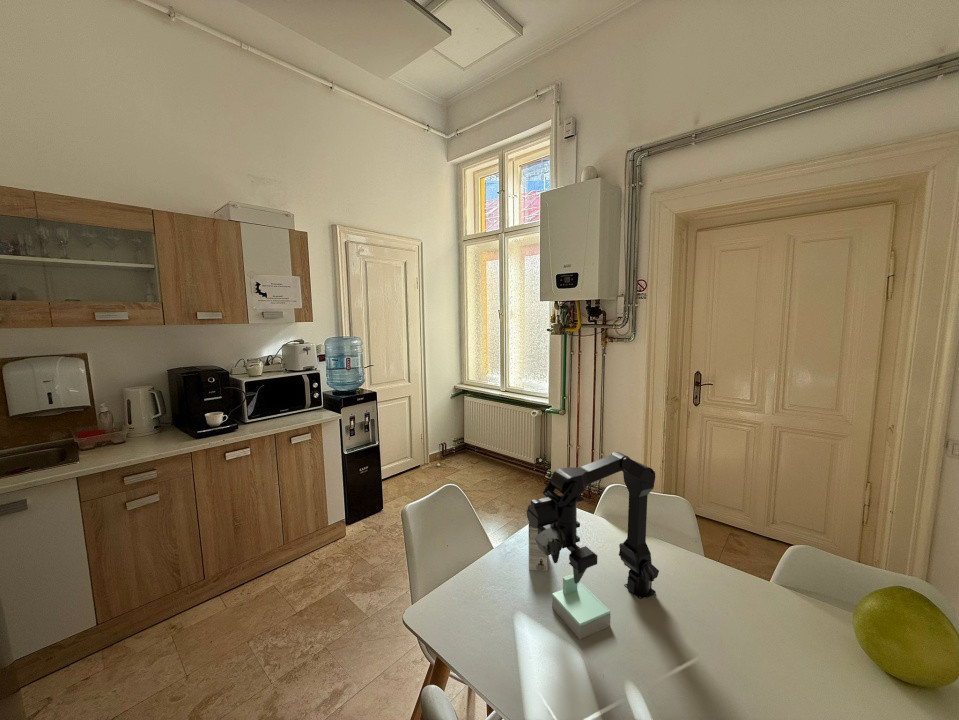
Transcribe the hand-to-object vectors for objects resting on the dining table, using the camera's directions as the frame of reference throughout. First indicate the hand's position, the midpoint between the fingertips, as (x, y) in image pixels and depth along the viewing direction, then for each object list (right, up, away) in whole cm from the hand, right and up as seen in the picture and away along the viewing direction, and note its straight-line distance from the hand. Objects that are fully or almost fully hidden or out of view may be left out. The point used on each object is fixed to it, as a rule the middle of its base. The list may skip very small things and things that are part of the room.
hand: (565, 572), depth 106 cm
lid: (+4, -9, +1) cm, 10 cm away
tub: (+4, -13, +1) cm, 14 cm away
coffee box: (-3, -11, +25) cm, 28 cm away
